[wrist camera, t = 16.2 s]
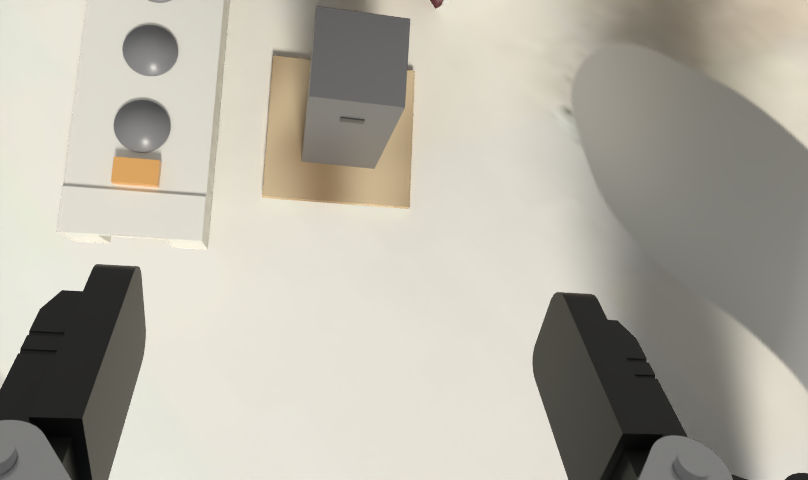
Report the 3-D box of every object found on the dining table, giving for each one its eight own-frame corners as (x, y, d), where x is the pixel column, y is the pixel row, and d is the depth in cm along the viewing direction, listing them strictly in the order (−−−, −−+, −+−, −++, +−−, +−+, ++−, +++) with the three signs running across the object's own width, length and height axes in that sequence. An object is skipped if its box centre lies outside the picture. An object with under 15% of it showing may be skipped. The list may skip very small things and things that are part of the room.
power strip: (232, -36, 45) (228, -70, 41) (207, 249, 41) (201, 239, 38) (109, -52, 43) (94, -88, 40) (73, 241, 40) (53, 230, 37)
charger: (380, 70, 45) (412, -20, 34) (374, 169, 44) (405, 108, 33) (309, 62, 44) (319, -33, 33) (301, 162, 43) (308, 97, 32)
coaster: (413, 73, 46) (414, 70, 45) (407, 208, 44) (409, 207, 44) (273, 58, 44) (273, 55, 44) (262, 197, 43) (262, 195, 42)
